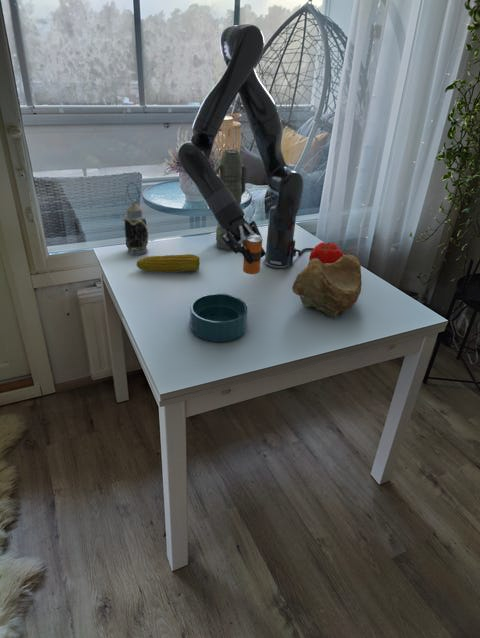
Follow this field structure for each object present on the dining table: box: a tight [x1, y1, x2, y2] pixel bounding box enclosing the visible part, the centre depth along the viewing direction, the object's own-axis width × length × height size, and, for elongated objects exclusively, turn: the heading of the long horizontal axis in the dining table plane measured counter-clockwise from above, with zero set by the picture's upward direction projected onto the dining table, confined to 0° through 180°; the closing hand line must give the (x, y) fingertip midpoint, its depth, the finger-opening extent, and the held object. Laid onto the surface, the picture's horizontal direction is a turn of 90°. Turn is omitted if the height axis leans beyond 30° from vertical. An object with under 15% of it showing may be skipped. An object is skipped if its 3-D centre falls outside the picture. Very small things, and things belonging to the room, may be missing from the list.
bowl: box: [189, 293, 248, 343], centre depth 121 cm, size 15×15×6 cm
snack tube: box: [242, 234, 264, 275], centre depth 125 cm, size 5×5×10 cm
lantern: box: [122, 182, 149, 256], centre depth 156 cm, size 9×8×25 cm
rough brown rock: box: [291, 253, 362, 319], centre depth 131 cm, size 23×17×15 cm
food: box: [136, 253, 201, 273], centre depth 148 cm, size 21×6×6 cm, turn 98°
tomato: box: [308, 241, 345, 264], centre depth 155 cm, size 11×12×9 cm
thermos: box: [214, 149, 247, 252], centre depth 162 cm, size 9×12×35 cm
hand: (257, 259), depth 124 cm, fingers closed on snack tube, 5 cm apart
